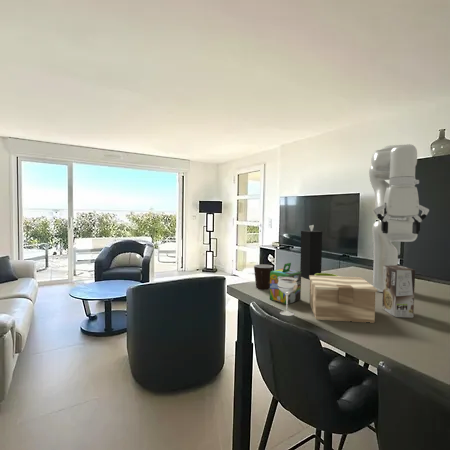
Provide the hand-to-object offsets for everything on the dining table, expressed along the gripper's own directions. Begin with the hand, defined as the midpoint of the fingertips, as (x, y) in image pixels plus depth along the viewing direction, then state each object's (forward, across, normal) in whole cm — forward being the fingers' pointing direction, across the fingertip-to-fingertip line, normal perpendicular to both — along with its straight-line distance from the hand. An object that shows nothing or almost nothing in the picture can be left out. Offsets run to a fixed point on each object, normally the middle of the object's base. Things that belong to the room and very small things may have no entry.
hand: (400, 233), depth 104 cm
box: (+28, +20, +3) cm, 34 cm away
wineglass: (+28, +38, +7) cm, 48 cm away
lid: (+22, +20, +3) cm, 30 cm away
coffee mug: (+28, +48, -25) cm, 61 cm away
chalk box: (+28, +38, -9) cm, 48 cm away
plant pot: (+28, +21, -18) cm, 39 cm away
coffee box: (+28, 0, 0) cm, 28 cm away
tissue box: (+28, +23, -53) cm, 64 cm away
